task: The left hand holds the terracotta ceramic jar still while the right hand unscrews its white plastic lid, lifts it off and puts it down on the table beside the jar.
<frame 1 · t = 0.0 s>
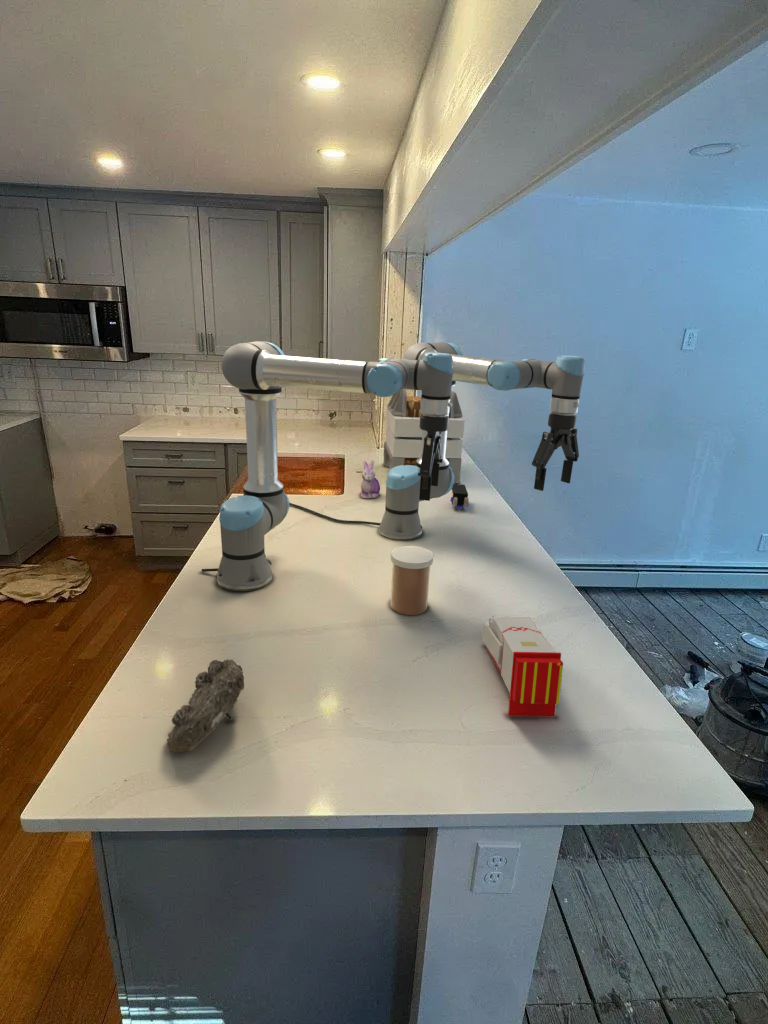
left hand: (428, 492, 154), 28 cm above the counter, tool pointing down, fingers open, 13 cm apart
right hand: (552, 485, 166), 28 cm above the counter, tool pointing down, fingers open, 13 cm apart
figurine: (369, 495, 239), on the counter
white wooden crate: (419, 473, 275), on the counter
lid: (412, 555, 147), point 15 cm above the counter, screwed on, not yet turned
fossil: (212, 717, 108), on the counter
figurine character: (458, 506, 231), on the counter
toy: (514, 675, 125), on the counter
jar: (408, 605, 152), on the counter
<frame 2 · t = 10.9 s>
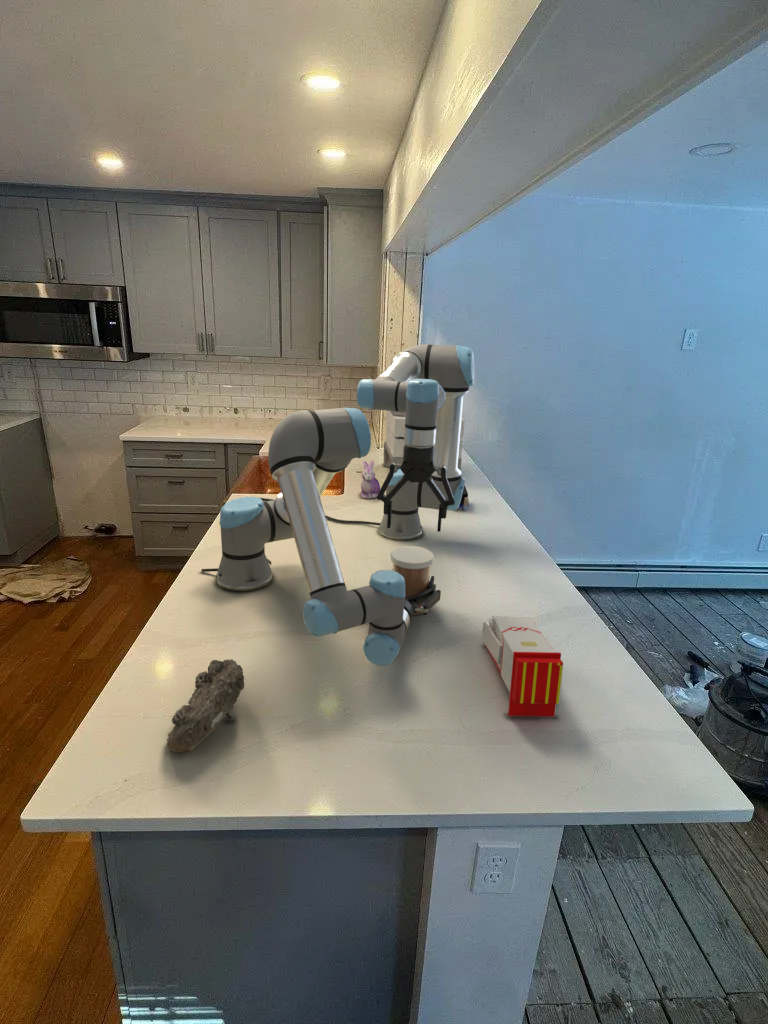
left hand: (413, 577, 154), 6 cm above the counter, tool horizontal, fingers closed on jar, 10 cm apart
right hand: (413, 528, 144), 22 cm above the counter, tool pointing down, fingers open, 12 cm apart
jar: (408, 605, 152), on the counter, touching left hand
everything else where it was.
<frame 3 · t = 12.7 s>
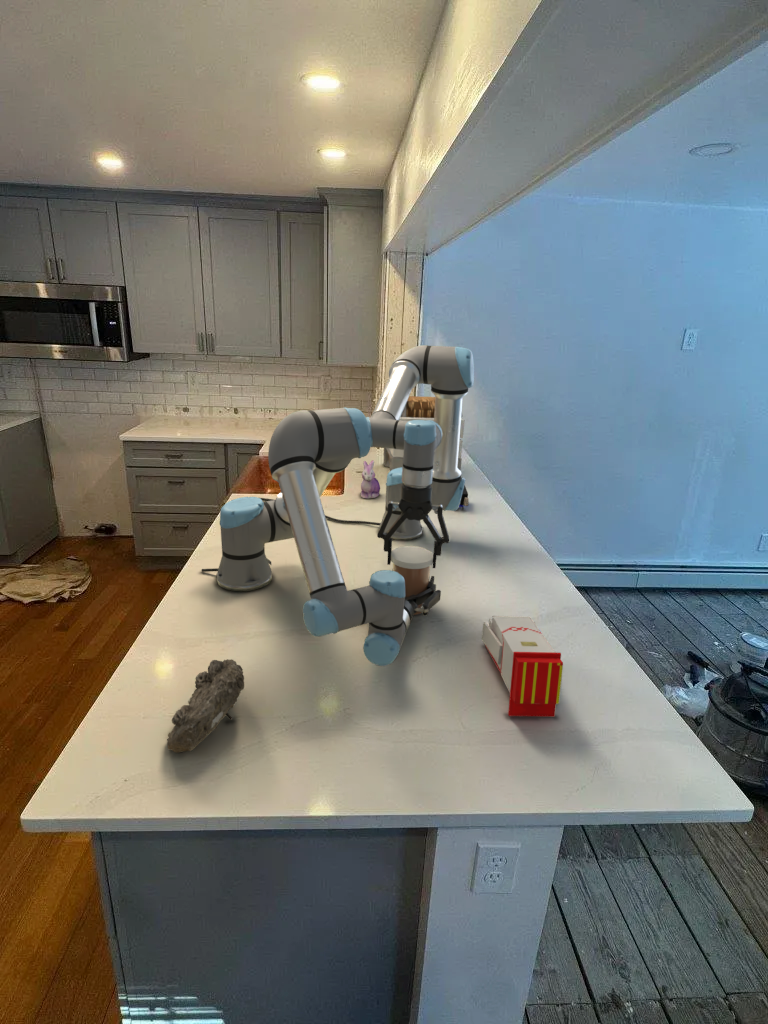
left hand: (413, 577, 154), 6 cm above the counter, tool horizontal, fingers closed on jar, 10 cm apart
right hand: (411, 564, 148), 12 cm above the counter, tool pointing down, fingers closed on lid, 11 cm apart
lid: (412, 555, 147), point 15 cm above the counter, screwed on, not yet turned, touching right hand
jar: (408, 605, 152), on the counter, touching left hand
everything else where it was.
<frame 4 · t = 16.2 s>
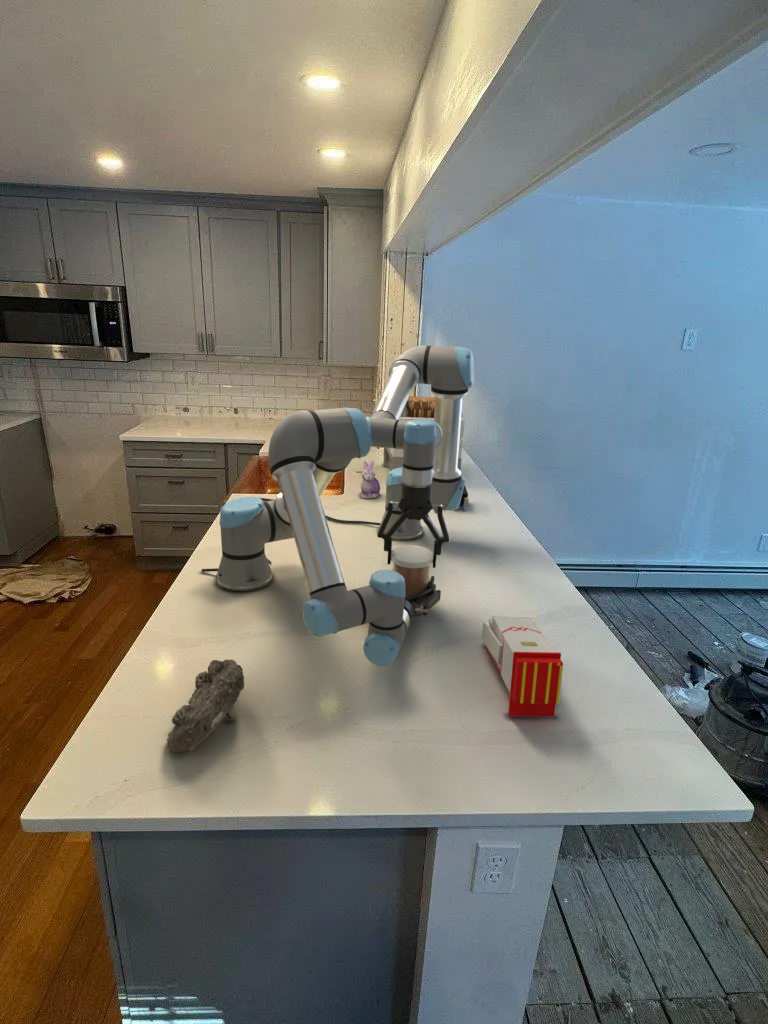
left hand: (413, 577, 154), 6 cm above the counter, tool horizontal, fingers closed on jar, 10 cm apart
right hand: (411, 564, 148), 12 cm above the counter, tool pointing down, fingers closed on lid, 11 cm apart
lid: (412, 554, 147), point 15 cm above the counter, turned 126° so far, risen 0.2 cm, still on its thread, touching right hand
jar: (408, 605, 152), on the counter, touching left hand
everything else where it was.
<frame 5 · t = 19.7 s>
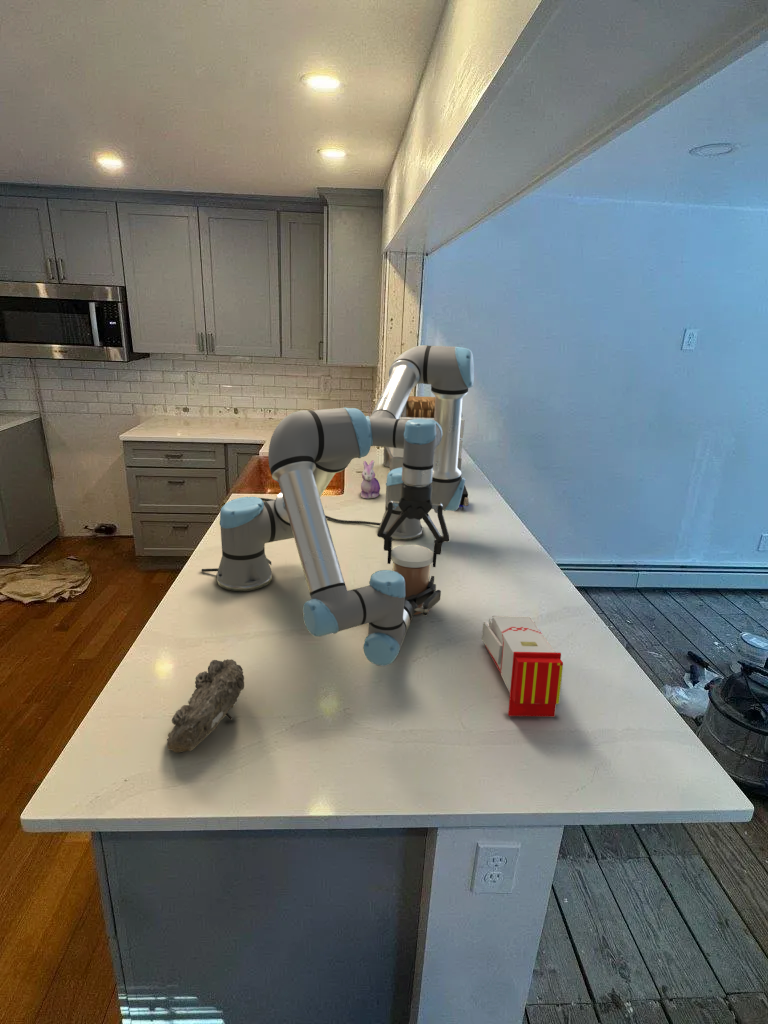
left hand: (413, 577, 154), 6 cm above the counter, tool horizontal, fingers closed on jar, 10 cm apart
right hand: (411, 563, 148), 12 cm above the counter, tool pointing down, fingers closed on lid, 11 cm apart
lid: (412, 554, 147), point 15 cm above the counter, turned 252° so far, risen 0.3 cm, still on its thread, touching right hand
jar: (408, 605, 152), on the counter, touching left hand
everything else where it was.
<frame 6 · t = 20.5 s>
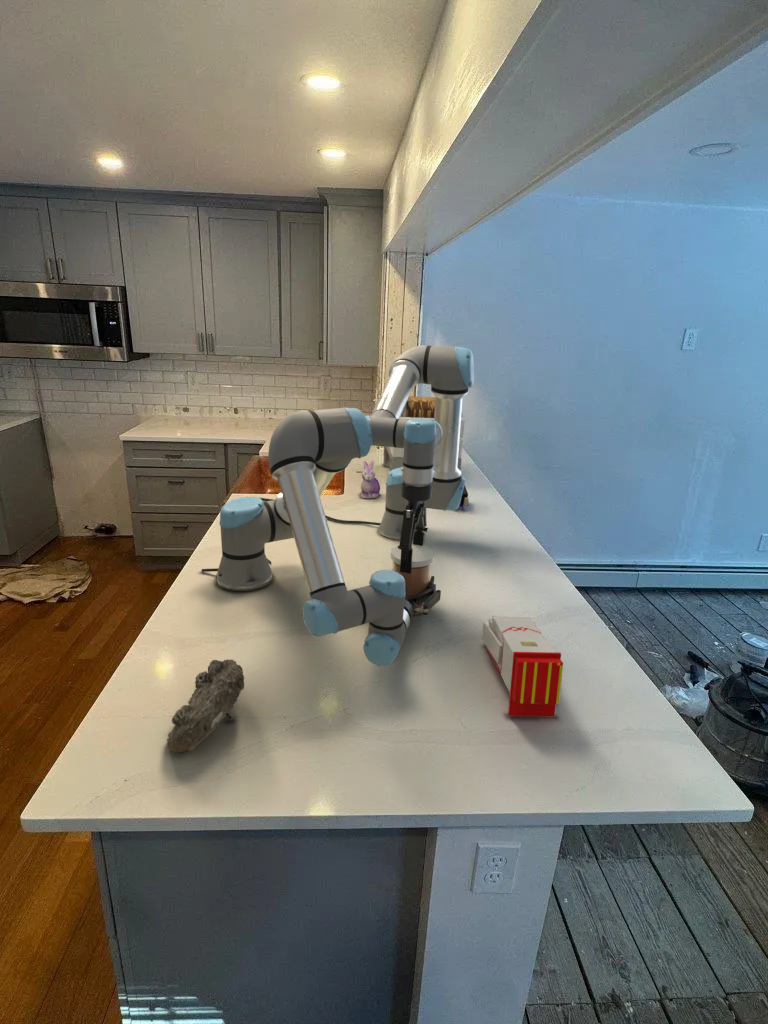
left hand: (413, 577, 154), 6 cm above the counter, tool horizontal, fingers closed on jar, 10 cm apart
right hand: (411, 563, 148), 13 cm above the counter, tool pointing down, fingers closed on lid, 11 cm apart
lid: (412, 553, 147), point 15 cm above the counter, turned 329° so far, risen 0.4 cm, still on its thread, touching right hand
jar: (408, 605, 152), on the counter, touching left hand
everything else where it was.
when the right hand's fingers open (0 cm above the counter, at t = 26.0 s): lid drops 2 cm, point 1 cm above the counter.
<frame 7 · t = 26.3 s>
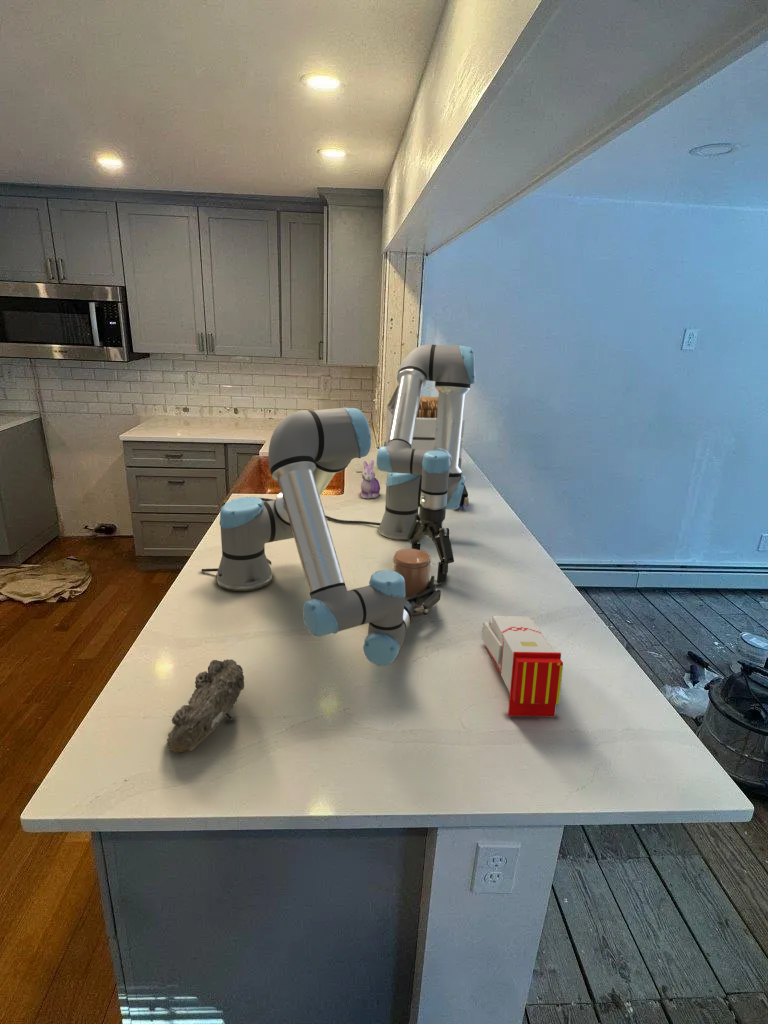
left hand: (413, 577, 154), 6 cm above the counter, tool horizontal, fingers closed on jar, 10 cm apart
right hand: (427, 572, 169), 1 cm above the counter, tool pointing down, fingers open, 13 cm apart
lid: (427, 572, 169), point 1 cm above the counter, off its thread
jar: (408, 605, 152), on the counter, touching left hand
everything else where it was.
when the left hand's fingers open (6 cm above the counter, at t = 27.0 s): jar stays where it is, on the counter.
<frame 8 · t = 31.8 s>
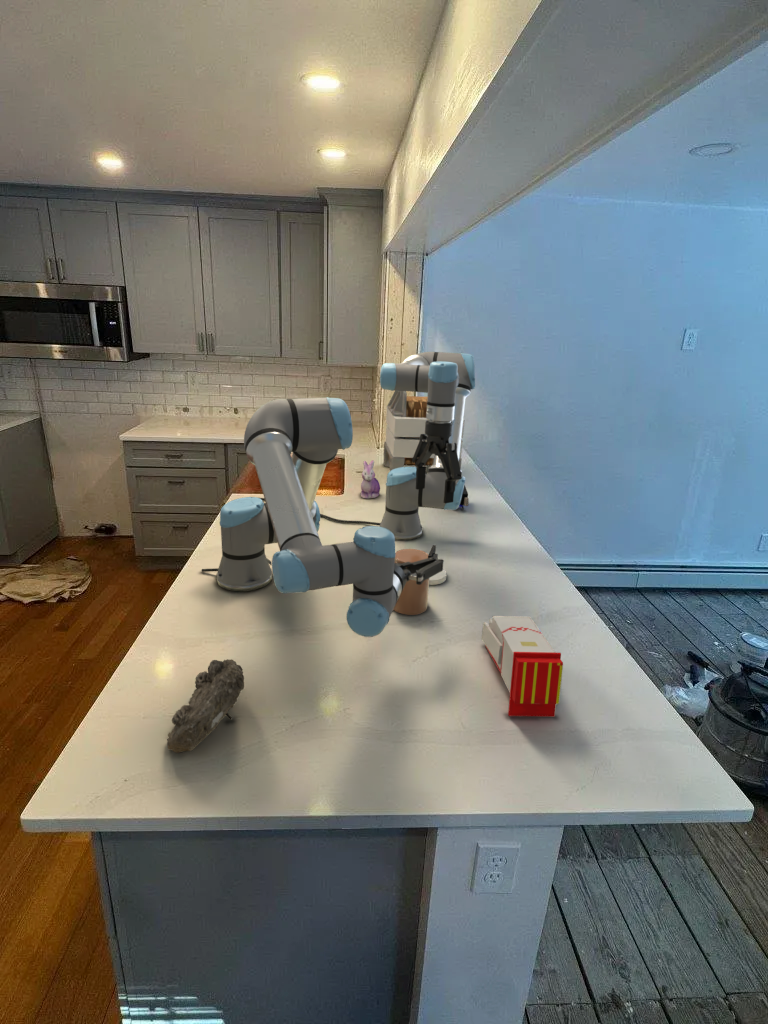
left hand: (405, 546, 136), 21 cm above the counter, tool horizontal, fingers open, 13 cm apart
right hand: (433, 495, 161), 25 cm above the counter, tool pointing down, fingers open, 13 cm apart
jar: (408, 605, 152), on the counter
everything else where it was.
at the end: lid came off its thread; lid point 1.2 cm above the counter; the left hand is holding nothing; the right hand is holding nothing; jar tilted 0°; jar moved 0.0 cm from its start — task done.
